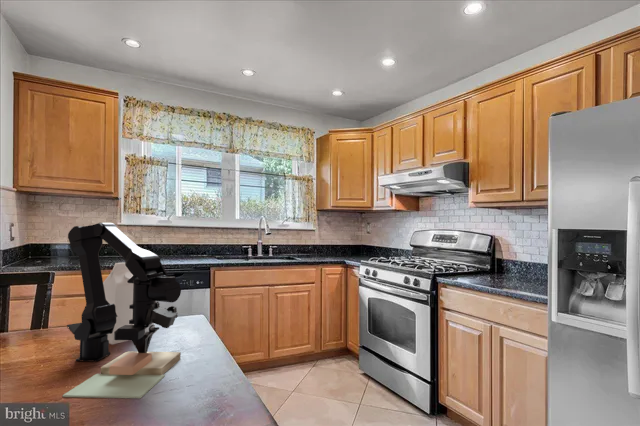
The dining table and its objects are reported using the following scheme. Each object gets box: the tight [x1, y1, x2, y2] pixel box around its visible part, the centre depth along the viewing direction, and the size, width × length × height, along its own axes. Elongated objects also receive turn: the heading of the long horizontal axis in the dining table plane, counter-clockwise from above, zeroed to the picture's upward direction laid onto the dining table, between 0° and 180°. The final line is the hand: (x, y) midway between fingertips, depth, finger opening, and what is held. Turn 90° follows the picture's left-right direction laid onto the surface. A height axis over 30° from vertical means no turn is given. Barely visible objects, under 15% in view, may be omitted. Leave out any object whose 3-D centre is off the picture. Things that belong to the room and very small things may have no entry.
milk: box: [103, 262, 134, 345], centre depth 126 cm, size 12×12×26 cm
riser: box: [100, 350, 181, 375], centre depth 99 cm, size 16×12×2 cm
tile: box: [109, 353, 152, 375], centre depth 93 cm, size 6×9×2 cm, turn 177°
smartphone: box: [66, 322, 82, 335], centre depth 136 cm, size 7×1×15 cm
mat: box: [62, 373, 166, 399], centre depth 87 cm, size 18×12×1 cm, turn 89°
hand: (143, 356), depth 99 cm, fingers closed
